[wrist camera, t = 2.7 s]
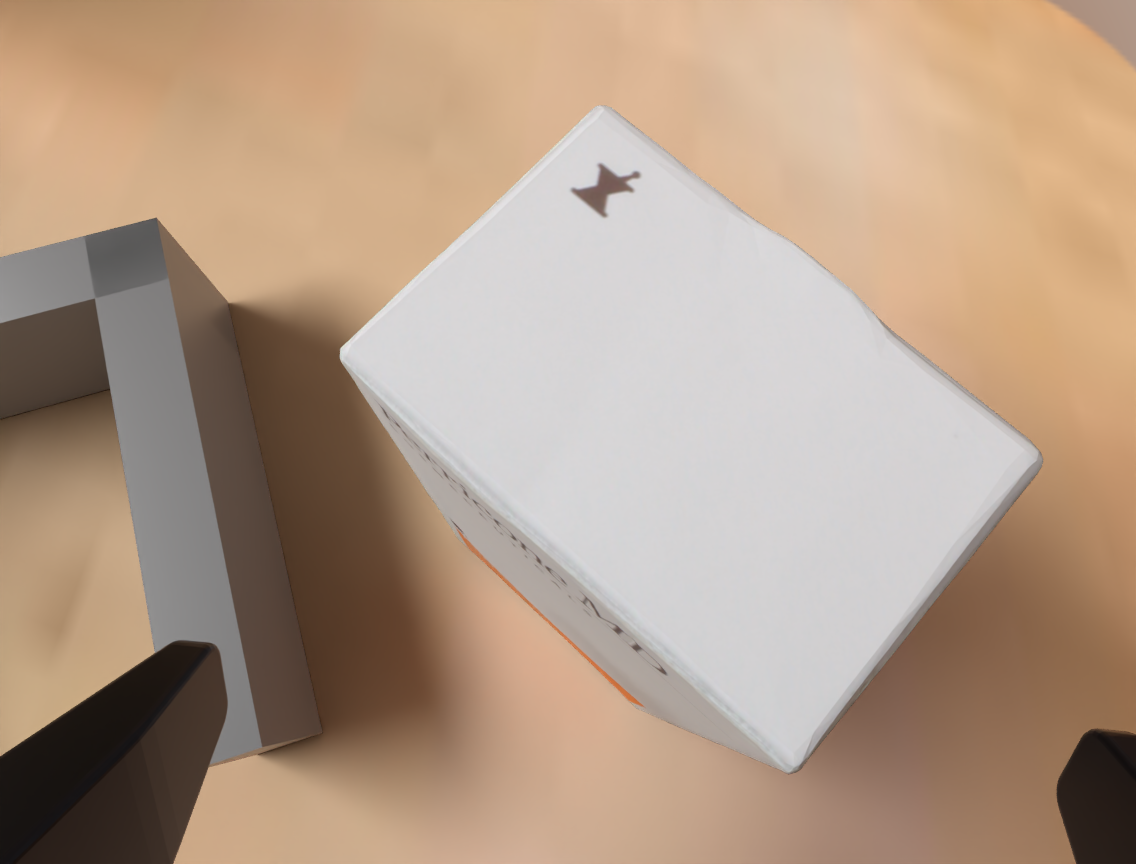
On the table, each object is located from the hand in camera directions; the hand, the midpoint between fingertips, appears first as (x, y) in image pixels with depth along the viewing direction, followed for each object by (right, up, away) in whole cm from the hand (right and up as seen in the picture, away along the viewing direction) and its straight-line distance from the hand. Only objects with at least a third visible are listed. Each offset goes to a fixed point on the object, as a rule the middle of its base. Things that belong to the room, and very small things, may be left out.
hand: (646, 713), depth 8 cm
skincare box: (0, 0, +11) cm, 11 cm away
